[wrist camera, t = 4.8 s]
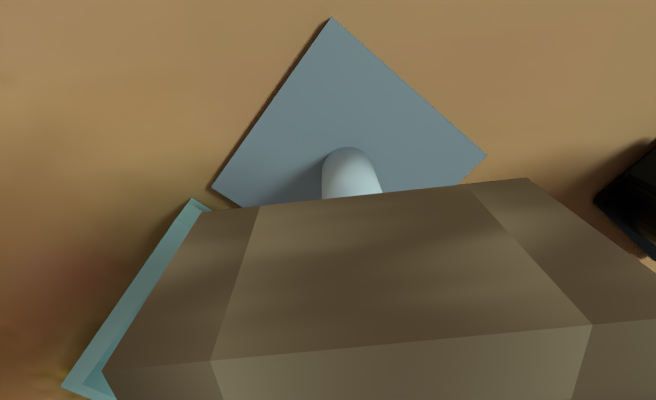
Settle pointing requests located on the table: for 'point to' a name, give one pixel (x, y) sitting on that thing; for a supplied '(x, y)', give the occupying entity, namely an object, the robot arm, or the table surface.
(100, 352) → the tray
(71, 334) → the table surface
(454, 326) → the walnut square frame
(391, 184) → the grey square knobbed piece
